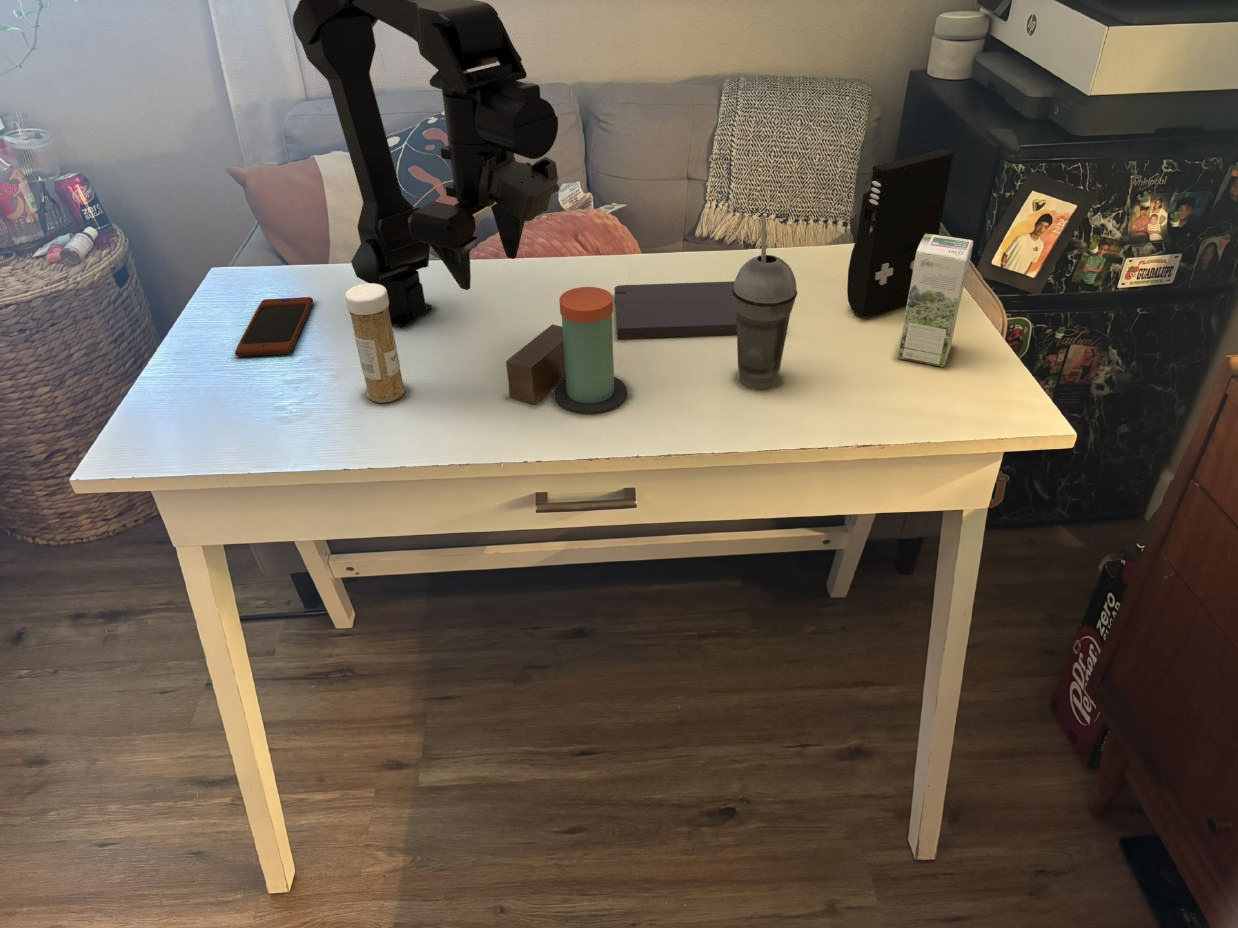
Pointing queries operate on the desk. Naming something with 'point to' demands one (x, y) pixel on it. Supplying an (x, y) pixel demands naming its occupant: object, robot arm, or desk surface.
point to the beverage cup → (762, 315)
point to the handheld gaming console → (895, 229)
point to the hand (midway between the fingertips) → (489, 273)
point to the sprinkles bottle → (375, 341)
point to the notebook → (675, 310)
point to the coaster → (593, 408)
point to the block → (537, 366)
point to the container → (588, 343)
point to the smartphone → (274, 327)
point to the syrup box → (934, 298)
